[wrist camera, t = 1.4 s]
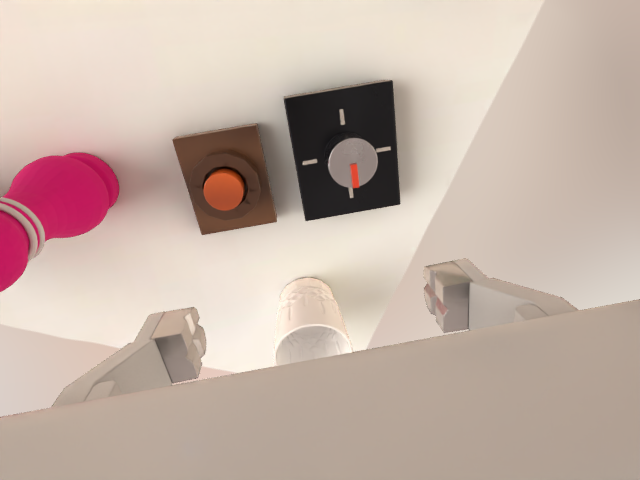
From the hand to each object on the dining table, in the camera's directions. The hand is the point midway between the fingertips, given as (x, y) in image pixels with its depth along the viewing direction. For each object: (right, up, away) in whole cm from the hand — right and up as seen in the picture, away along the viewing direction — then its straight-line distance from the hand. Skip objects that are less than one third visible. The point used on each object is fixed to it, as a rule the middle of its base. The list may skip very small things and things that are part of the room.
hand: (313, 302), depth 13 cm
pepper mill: (-23, +8, +25) cm, 35 cm away
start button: (-9, +7, +23) cm, 26 cm away
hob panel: (+2, +12, +26) cm, 28 cm away
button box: (-9, +9, +26) cm, 29 cm away
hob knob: (+3, +10, +23) cm, 25 cm away
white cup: (-1, -5, +33) cm, 33 cm away
